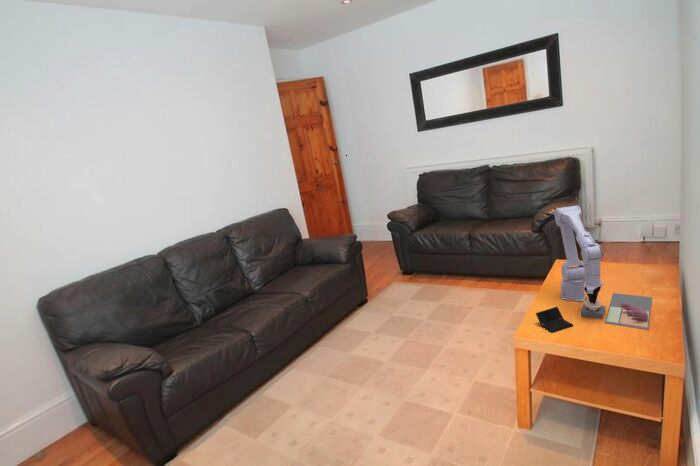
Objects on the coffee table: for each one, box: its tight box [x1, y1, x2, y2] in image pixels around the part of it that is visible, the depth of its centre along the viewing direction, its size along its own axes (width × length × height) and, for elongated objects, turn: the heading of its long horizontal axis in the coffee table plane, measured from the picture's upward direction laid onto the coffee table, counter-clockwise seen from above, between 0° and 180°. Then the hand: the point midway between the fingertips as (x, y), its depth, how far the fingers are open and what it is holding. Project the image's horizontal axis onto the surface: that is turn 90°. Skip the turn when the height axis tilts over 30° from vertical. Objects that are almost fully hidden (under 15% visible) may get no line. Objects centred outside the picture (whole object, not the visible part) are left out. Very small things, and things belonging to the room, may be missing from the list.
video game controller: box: [621, 303, 648, 320], centre depth 158 cm, size 10×5×7 cm
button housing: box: [580, 302, 606, 320], centre depth 166 cm, size 8×8×2 cm
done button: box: [584, 299, 602, 311], centre depth 165 cm, size 6×6×4 cm
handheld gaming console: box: [535, 306, 574, 334], centre depth 163 cm, size 12×7×10 cm
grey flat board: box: [604, 292, 653, 331], centre depth 164 cm, size 14×30×1 cm, turn 141°
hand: (592, 302), depth 165 cm, fingers closed
